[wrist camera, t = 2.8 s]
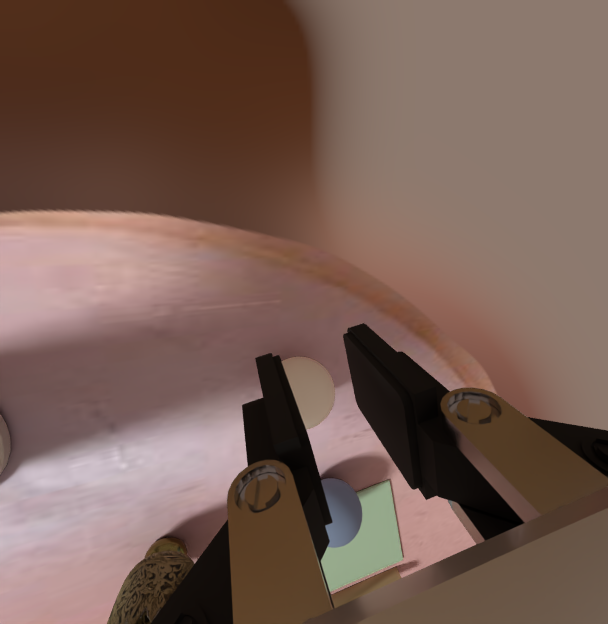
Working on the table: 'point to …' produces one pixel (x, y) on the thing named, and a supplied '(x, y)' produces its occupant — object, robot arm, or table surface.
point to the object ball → (342, 512)
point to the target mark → (366, 540)
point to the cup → (151, 582)
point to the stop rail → (365, 587)
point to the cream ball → (310, 389)
